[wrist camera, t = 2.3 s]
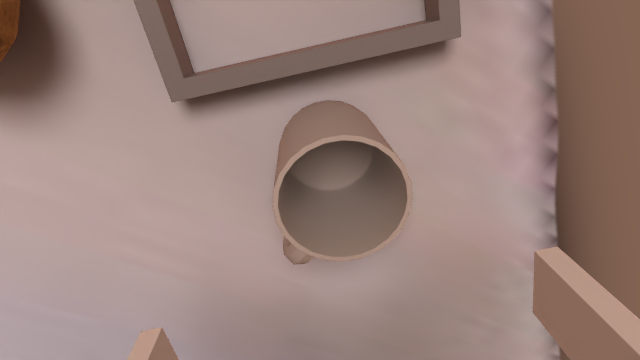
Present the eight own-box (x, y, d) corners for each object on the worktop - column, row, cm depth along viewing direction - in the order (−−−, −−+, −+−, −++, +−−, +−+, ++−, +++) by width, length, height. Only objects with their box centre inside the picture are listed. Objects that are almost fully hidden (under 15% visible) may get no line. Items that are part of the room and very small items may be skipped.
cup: (396, 126, 27) (440, 173, 19) (330, 233, 30) (343, 313, 22) (307, 79, 25) (313, 108, 17) (247, 198, 29) (228, 270, 20)
